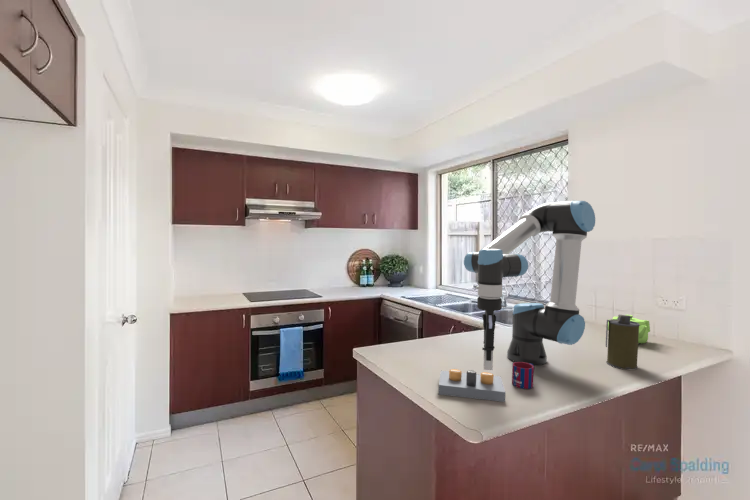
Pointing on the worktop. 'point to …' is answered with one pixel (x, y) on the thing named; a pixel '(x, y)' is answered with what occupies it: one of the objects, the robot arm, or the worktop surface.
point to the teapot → (640, 329)
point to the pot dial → (471, 378)
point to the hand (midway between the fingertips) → (488, 369)
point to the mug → (522, 375)
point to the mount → (472, 388)
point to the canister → (622, 342)
